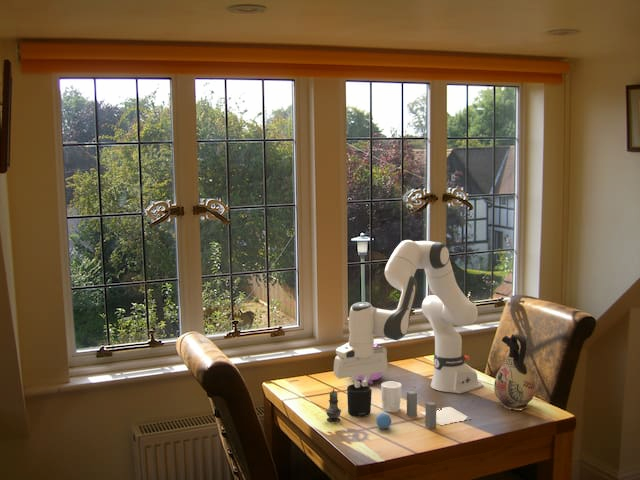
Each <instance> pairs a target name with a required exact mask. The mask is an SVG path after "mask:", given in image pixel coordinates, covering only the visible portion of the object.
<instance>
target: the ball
mask: <svg viewBox="0 0 640 480" xmlns="http://www.w3.org/2000/svg"><path fill="white" fill-rule="evenodd" d="M375 422H376V425H377V426H378V428H380V429H388V428H389V427H390V426H391V425H392V417H391V416H390V415H389V414H388V413H387V412H386V413H385V412H383V413H380V414H378V415H377V417H376V421H375Z"/></svg>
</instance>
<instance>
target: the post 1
mask: <svg viewBox="0 0 640 480" xmlns="http://www.w3.org/2000/svg"><path fill="white" fill-rule="evenodd" d="M406 415H407V416H408V417H410V418H412V417H417V416H418V392H416V391H415V390H409V391H406Z"/></svg>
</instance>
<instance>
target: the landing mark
mask: <svg viewBox="0 0 640 480" xmlns="http://www.w3.org/2000/svg"><path fill="white" fill-rule="evenodd" d="M441 408H442V410H440V408H438V409H439V410H440V411H439V410H437V411H436V425H437V424H438V425H439V426H440V425H442V426H446V425H445V424H447V425H451V424H450V423H451V422H452V421H453V423H452V424H455V423H454V422H456V421H457V423H460V422H459V421H462V422H465V421H464V420H465V419H466V418H467V417H468V416H467V415H466V414H464V413H462V412H460V411H459V410H456V409H455V408H453V407H452V406H447V407H441ZM425 412H426V410H424V411H419V413H420V414H421V415H422V416H424V417H425ZM438 418H439V419H438ZM450 420H451V421H450Z"/></svg>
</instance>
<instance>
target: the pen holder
mask: <svg viewBox="0 0 640 480" xmlns="http://www.w3.org/2000/svg"><path fill="white" fill-rule="evenodd" d="M346 391H347V393H346V394H347V397H346V398H347V413H348V414H349V415H350V416H353V417H358V418H362V417H367V416H369V415H370V414H371V413H372V412H371V409H372V395H373V393H372V392H373V391H372V388H370V386H368V385H367V386H365V387H363V386H362V383H360V387H358V388H356V387H355V383H353V384H349V385H348V386H347V388H346Z"/></svg>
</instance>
